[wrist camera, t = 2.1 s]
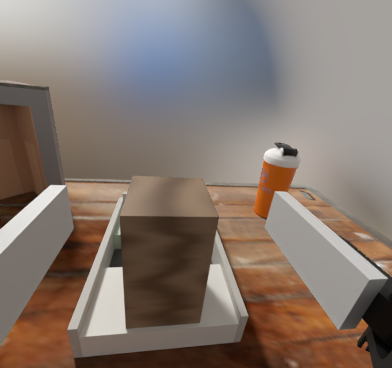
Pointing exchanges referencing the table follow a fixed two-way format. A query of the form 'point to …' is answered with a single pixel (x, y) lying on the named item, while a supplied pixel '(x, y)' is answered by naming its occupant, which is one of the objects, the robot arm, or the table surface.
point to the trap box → (150, 336)
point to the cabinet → (27, 143)
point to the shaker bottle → (275, 175)
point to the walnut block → (166, 250)
